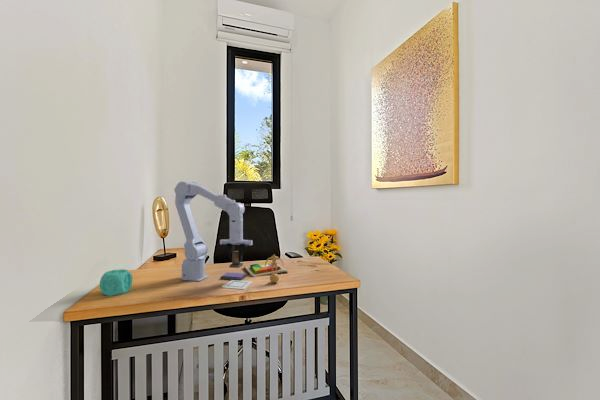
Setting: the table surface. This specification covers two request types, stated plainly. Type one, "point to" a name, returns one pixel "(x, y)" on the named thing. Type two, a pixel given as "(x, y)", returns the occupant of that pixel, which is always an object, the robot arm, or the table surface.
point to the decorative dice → (116, 282)
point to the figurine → (275, 277)
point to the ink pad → (233, 276)
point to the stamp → (235, 260)
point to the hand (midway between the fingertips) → (236, 261)
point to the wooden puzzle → (263, 269)
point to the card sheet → (237, 284)
